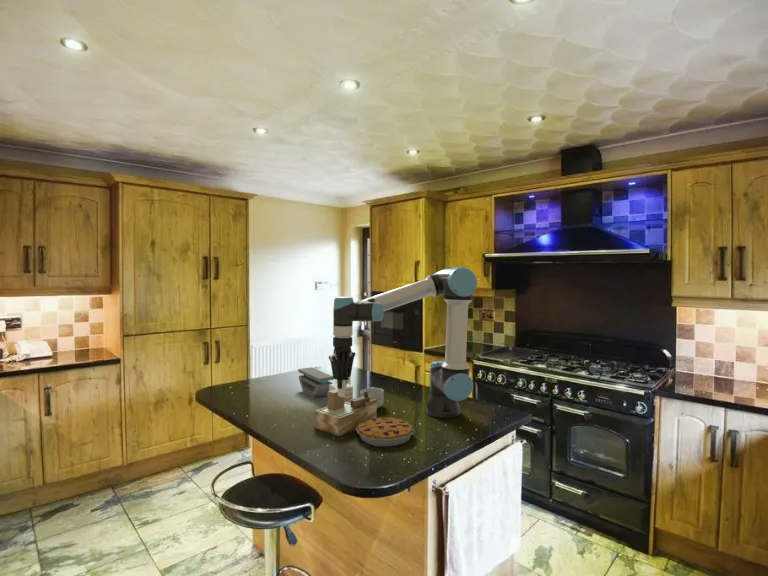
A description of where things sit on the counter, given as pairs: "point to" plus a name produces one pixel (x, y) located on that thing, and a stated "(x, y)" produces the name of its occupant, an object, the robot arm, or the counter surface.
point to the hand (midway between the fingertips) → (341, 396)
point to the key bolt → (360, 400)
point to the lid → (338, 405)
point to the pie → (385, 431)
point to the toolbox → (344, 419)
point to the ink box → (348, 392)
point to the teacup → (375, 394)
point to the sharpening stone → (314, 382)
